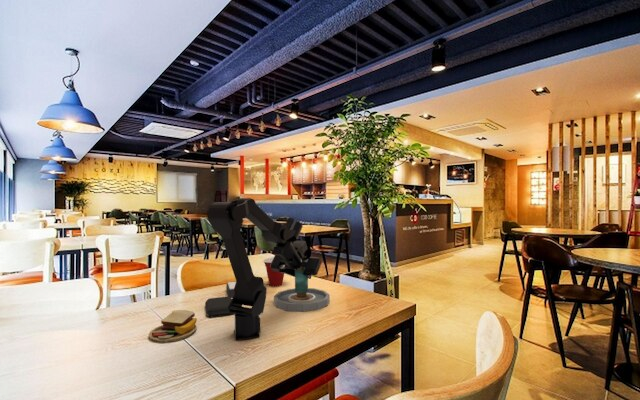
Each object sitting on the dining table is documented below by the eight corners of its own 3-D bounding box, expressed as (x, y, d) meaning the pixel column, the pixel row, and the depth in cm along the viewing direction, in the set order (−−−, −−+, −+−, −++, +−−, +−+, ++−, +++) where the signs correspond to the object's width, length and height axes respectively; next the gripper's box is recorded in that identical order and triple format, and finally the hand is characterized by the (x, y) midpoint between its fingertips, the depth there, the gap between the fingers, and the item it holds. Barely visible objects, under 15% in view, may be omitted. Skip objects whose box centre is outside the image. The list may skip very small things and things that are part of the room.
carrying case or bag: (240, 315, 108) (234, 302, 121) (240, 306, 108) (234, 294, 121) (206, 319, 104) (204, 305, 117) (206, 310, 104) (204, 297, 117)
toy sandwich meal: (138, 340, 89) (137, 323, 89) (174, 322, 101) (174, 307, 101) (174, 346, 85) (174, 328, 85) (207, 327, 97) (207, 311, 97)
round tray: (281, 314, 107) (280, 306, 107) (270, 297, 126) (270, 290, 126) (336, 307, 114) (336, 300, 114) (318, 292, 132) (318, 286, 132)
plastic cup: (261, 283, 148) (261, 256, 148) (284, 281, 151) (284, 255, 151) (264, 289, 137) (264, 261, 137) (289, 287, 141) (289, 259, 141)
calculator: (267, 285, 131) (228, 287, 125) (266, 296, 131) (228, 298, 125) (262, 279, 141) (226, 281, 136) (261, 289, 141) (226, 291, 136)
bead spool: (301, 302, 115) (301, 266, 116) (290, 299, 119) (289, 264, 120) (313, 299, 120) (312, 264, 120) (301, 296, 124) (301, 262, 124)
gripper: (319, 235, 112) (332, 261, 122) (274, 232, 120) (290, 257, 130) (308, 261, 105) (323, 287, 115) (261, 257, 113) (279, 281, 123)
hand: (303, 277), depth 121 cm, fingers open, 6 cm apart
